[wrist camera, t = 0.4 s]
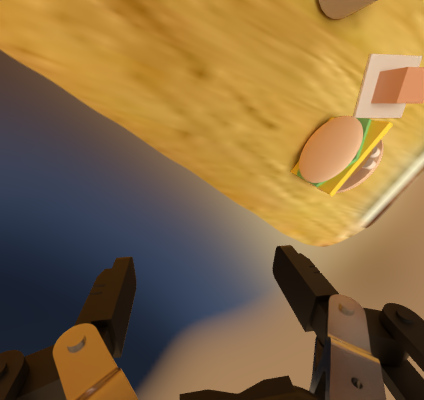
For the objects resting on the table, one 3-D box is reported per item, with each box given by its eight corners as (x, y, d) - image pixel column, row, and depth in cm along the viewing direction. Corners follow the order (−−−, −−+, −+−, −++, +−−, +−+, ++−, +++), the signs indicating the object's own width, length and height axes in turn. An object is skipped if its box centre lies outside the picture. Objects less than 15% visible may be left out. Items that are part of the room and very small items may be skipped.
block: (379, 71, 36) (408, 66, 32) (404, 72, 37) (436, 67, 33) (370, 103, 38) (396, 103, 34) (394, 103, 39) (422, 103, 35)
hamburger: (310, 185, 44) (354, 211, 34) (282, 166, 42) (319, 187, 31) (351, 134, 41) (413, 145, 30) (323, 110, 38) (380, 112, 27)
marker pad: (369, 54, 36) (371, 53, 35) (419, 56, 37) (422, 56, 36) (352, 117, 40) (354, 117, 39) (398, 117, 41) (401, 117, 41)
